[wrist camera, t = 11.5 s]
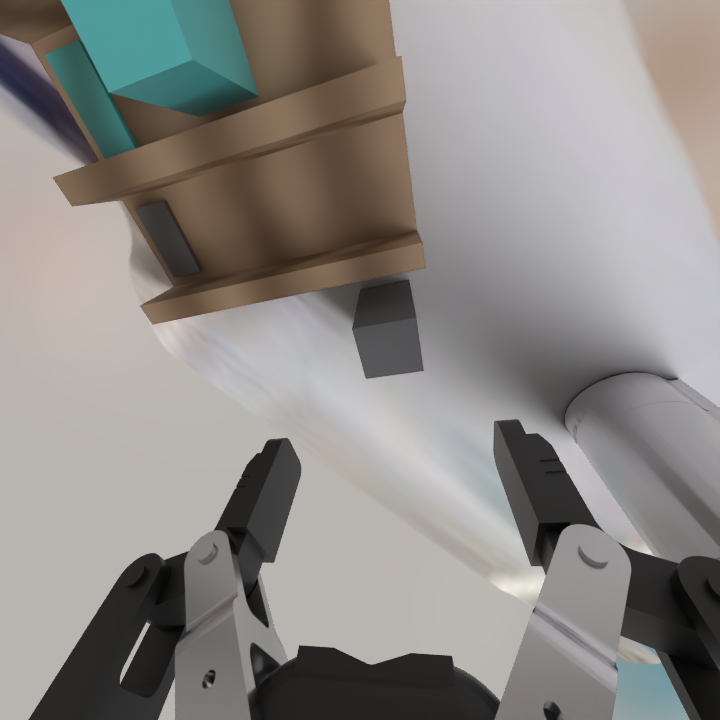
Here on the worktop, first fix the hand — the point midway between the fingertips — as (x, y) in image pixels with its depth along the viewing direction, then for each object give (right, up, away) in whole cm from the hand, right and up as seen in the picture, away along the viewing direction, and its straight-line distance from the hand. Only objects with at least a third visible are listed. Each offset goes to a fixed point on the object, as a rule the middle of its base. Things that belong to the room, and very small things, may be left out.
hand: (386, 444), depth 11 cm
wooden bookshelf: (-8, +17, +8) cm, 21 cm away
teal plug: (-9, +20, +5) cm, 23 cm away
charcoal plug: (+1, +8, +13) cm, 16 cm away
